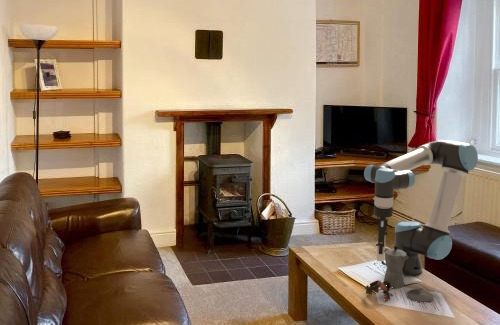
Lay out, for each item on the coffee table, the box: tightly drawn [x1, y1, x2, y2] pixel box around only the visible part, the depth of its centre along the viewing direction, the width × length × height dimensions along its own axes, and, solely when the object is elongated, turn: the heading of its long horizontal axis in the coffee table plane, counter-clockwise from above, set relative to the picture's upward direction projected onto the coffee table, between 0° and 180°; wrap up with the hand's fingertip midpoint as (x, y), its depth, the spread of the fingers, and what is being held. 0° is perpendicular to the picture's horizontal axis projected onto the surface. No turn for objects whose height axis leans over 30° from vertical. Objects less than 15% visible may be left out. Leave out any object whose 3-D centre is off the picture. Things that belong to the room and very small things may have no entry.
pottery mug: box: [365, 279, 392, 303], centre depth 230 cm, size 12×10×8 cm
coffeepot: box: [380, 245, 408, 289], centre depth 242 cm, size 15×9×18 cm, turn 39°
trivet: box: [406, 288, 435, 304], centre depth 230 cm, size 11×11×1 cm
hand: (380, 255), depth 227 cm, fingers open, 13 cm apart
